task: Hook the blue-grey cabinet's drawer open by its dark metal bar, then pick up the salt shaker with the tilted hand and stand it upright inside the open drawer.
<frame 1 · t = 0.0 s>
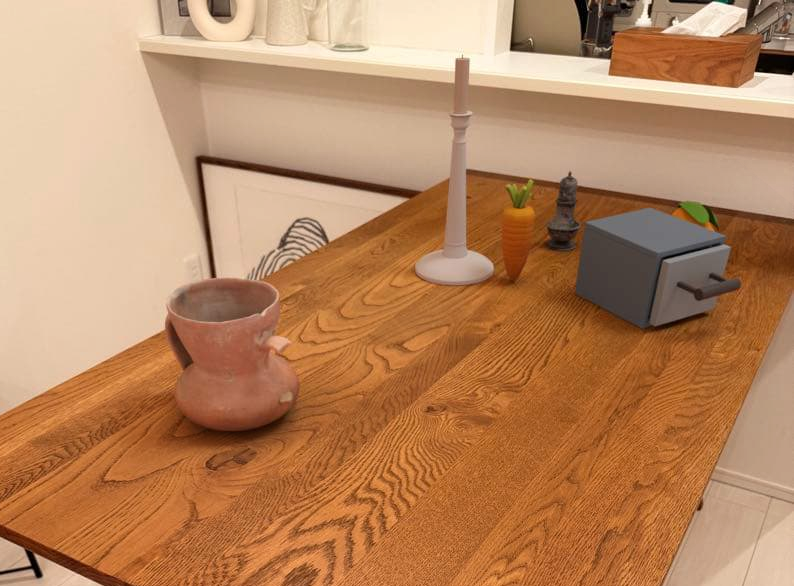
hand: (597, 43, 122), 28 cm above the table, tool pointing down, fingers open, 8 cm apart
drawer: (669, 276, 107), point 5 cm above the table, slide at 0.5 cm
candlestick: (454, 271, 125), on the table
salt shaker: (560, 246, 133), on the table
cabinet: (639, 301, 114), on the table
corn: (692, 257, 127), on the table
ceramic jug: (238, 411, 92), on the table
carrot: (512, 282, 121), on the table
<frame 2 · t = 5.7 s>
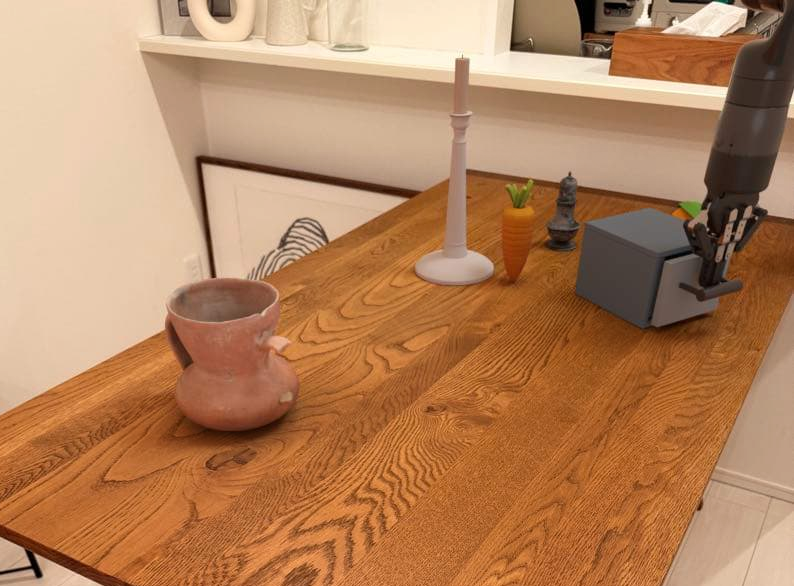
hand: (708, 286, 102), 6 cm above the table, tool pointing down, fingers closed
drawer: (671, 277, 107), point 5 cm above the table, slide at 0.9 cm
everything else where it was.
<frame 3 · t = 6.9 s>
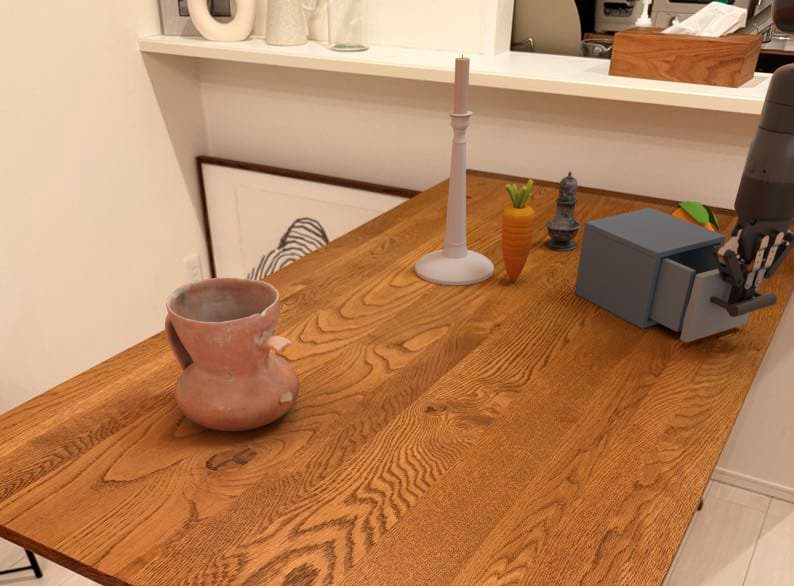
hand: (736, 312, 100), 5 cm above the table, tool pointing down, fingers closed
drawer: (700, 290, 103), point 5 cm above the table, slide at 6.3 cm, touching gripper
everything else where it was.
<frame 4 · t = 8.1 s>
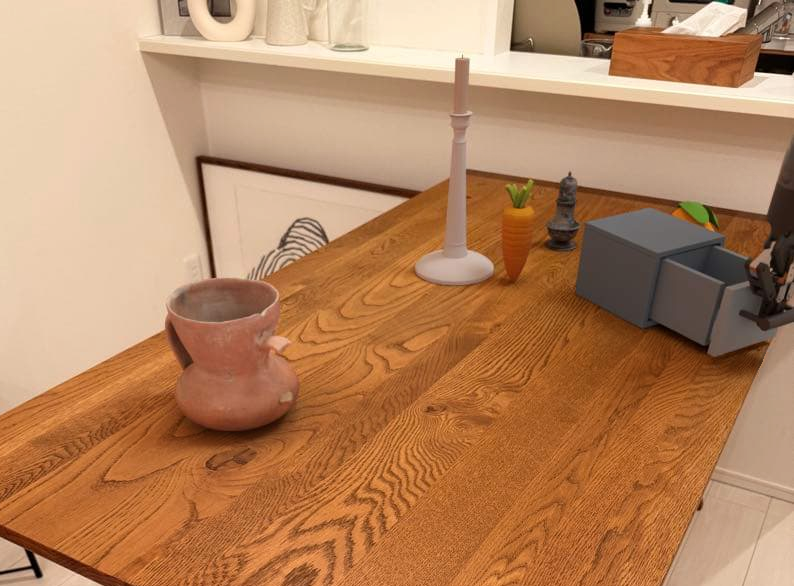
hand: (766, 326, 96), 5 cm above the table, tool pointing down, fingers closed
drawer: (728, 303, 100), point 5 cm above the table, slide at 11.1 cm, touching gripper
everything else where it was.
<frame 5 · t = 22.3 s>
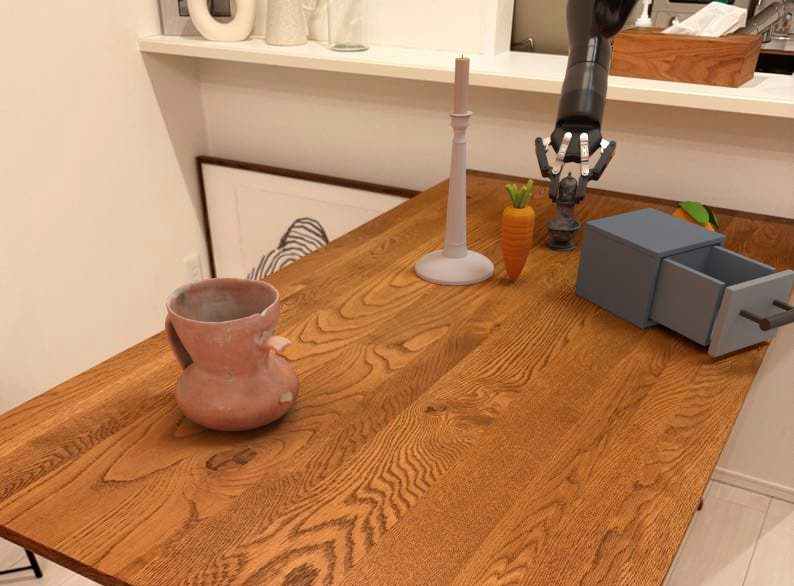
hand: (565, 200, 126), 8 cm above the table, tool tilted 45°, fingers closed on salt shaker, 3 cm apart
drawer: (728, 303, 100), point 5 cm above the table, slide at 11.1 cm
salt shaker: (560, 246, 133), on the table, touching gripper
everything else where it was.
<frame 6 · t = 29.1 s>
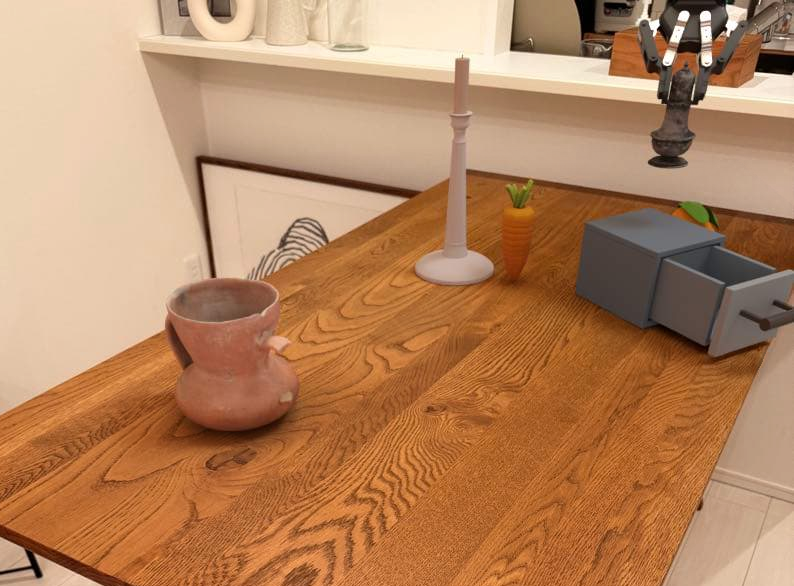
hand: (680, 100, 98), 26 cm above the table, tool tilted 45°, fingers closed on salt shaker, 3 cm apart
salt shaker: (667, 164, 104), point 18 cm above the table, touching gripper
everything else where it was.
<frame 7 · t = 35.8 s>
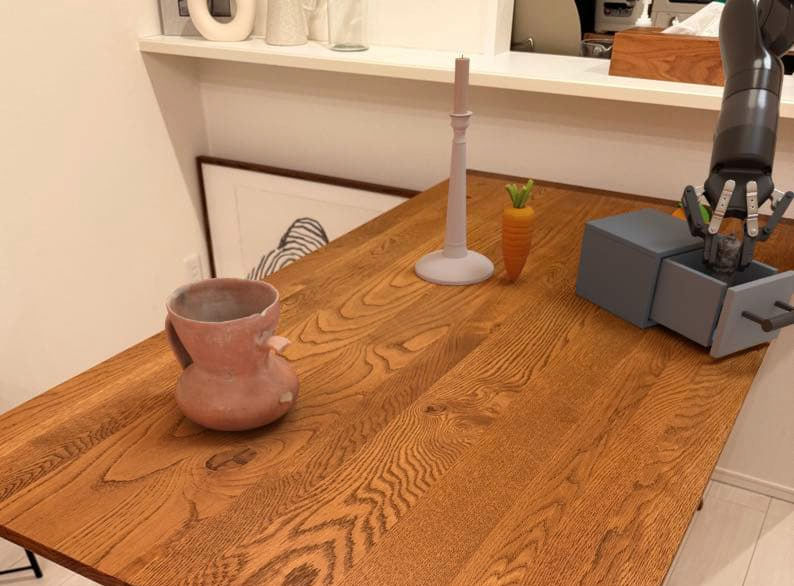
hand: (726, 267, 97), 10 cm above the table, tool tilted 45°, fingers closed on salt shaker, 3 cm apart
drawer: (730, 303, 100), point 5 cm above the table, slide at 11.4 cm, touching salt shaker
salt shaker: (709, 321, 104), point 2 cm above the table, touching drawer, gripper
everything else where it was.
when the fingers open (10 cm above the table, at t = 35.9 s): salt shaker stays where it is, resting on drawer.
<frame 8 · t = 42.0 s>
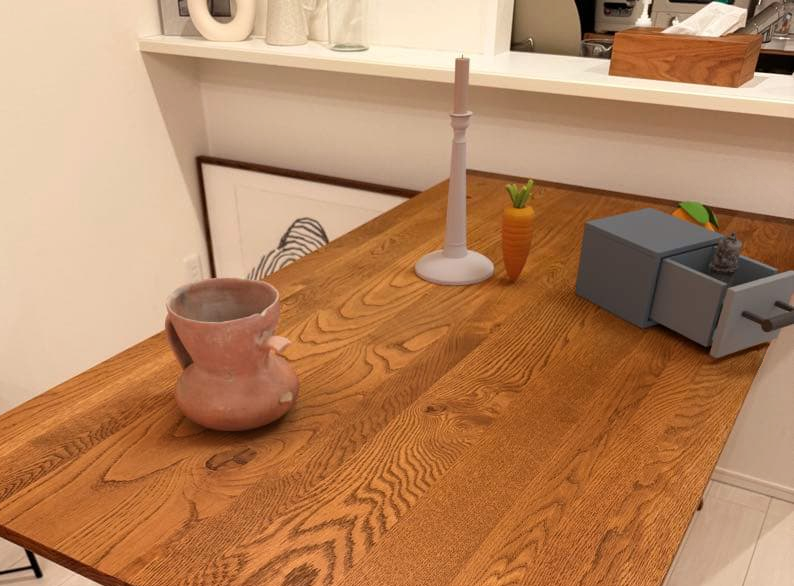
salt shaker: (709, 321, 104), point 2 cm above the table, touching drawer
everything else where it was.
at the end: drawer slide at 11.4 cm; salt shaker inside the target area in the drawer (0.1 cm from its centre), point 1.8 cm above the cabinet's base; salt shaker tilted 0° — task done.
